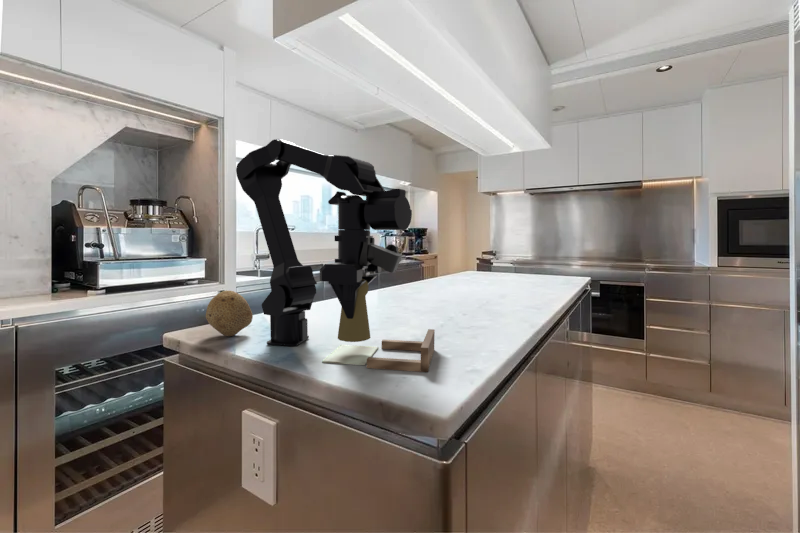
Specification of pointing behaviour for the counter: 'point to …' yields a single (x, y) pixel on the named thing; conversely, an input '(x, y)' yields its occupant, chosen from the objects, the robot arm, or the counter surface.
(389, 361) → the wooden frame with plate
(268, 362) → the counter surface
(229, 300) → the natural sponge
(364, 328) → the cork
